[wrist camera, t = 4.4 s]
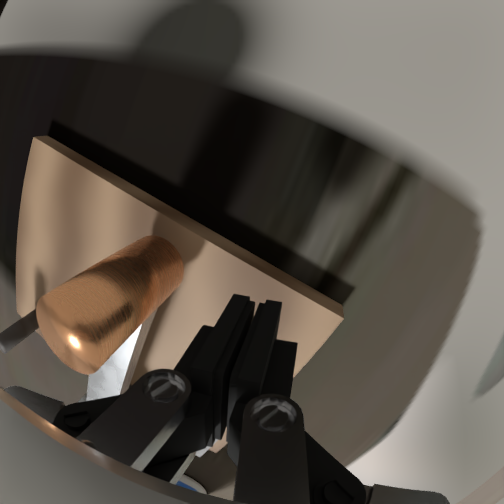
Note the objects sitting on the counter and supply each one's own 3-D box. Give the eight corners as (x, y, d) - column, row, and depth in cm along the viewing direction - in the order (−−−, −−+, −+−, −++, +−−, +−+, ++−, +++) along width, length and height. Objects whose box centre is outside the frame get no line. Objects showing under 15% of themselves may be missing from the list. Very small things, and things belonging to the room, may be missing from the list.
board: (26, 306, 24) (-19, 337, 17) (47, 135, 17) (-26, 143, 11) (220, 441, 23) (197, 500, 17) (342, 305, 17) (351, 389, 10)
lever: (130, 421, 21) (91, 478, 14) (92, 395, 21) (49, 447, 14) (200, 260, 14) (116, 341, 8) (135, 220, 14) (30, 270, 8)
